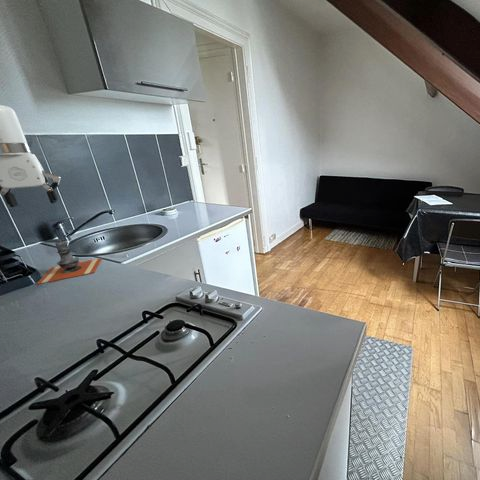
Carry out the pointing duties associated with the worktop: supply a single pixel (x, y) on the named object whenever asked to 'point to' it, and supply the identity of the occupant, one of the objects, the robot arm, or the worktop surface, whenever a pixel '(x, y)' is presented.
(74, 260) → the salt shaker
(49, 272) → the towel
